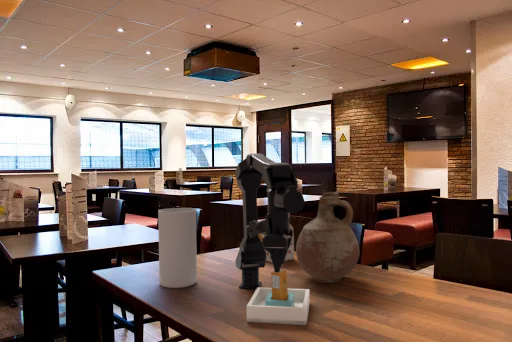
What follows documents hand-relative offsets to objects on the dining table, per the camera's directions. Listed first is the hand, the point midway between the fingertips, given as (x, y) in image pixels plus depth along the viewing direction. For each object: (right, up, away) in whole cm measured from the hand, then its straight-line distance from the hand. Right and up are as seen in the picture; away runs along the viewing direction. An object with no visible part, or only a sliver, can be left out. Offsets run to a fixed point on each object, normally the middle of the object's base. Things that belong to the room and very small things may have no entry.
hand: (279, 267), depth 107 cm
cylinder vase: (-33, -12, +28) cm, 45 cm away
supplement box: (0, -11, 0) cm, 11 cm away
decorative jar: (+2, -12, +62) cm, 63 cm away
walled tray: (0, -12, 0) cm, 12 cm away
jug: (+19, -12, +30) cm, 37 cm away
